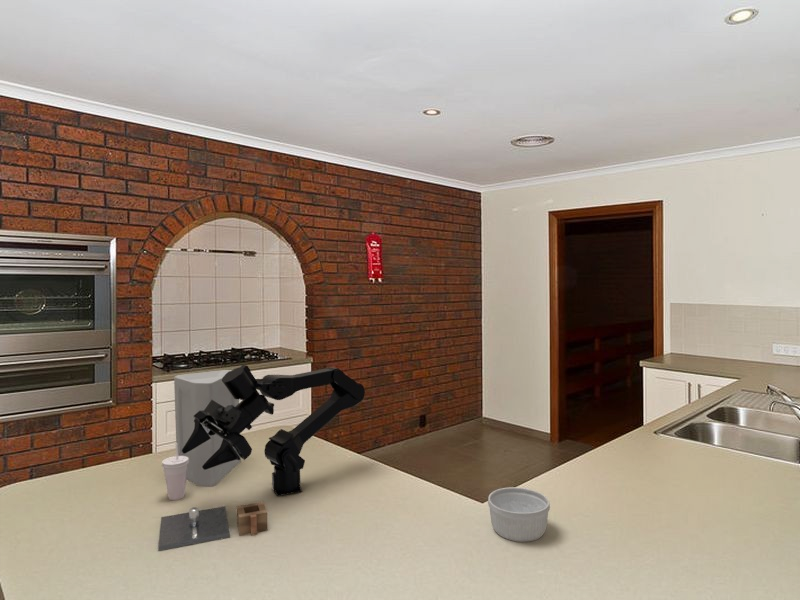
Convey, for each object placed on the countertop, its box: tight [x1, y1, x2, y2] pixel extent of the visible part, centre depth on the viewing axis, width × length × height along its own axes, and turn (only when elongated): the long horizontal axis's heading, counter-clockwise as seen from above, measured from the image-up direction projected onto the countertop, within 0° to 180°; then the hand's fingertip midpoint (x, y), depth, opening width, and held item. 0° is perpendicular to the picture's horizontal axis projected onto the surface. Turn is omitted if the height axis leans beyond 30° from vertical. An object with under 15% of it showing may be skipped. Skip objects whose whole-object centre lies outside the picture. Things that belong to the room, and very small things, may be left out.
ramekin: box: [487, 486, 551, 543], centre depth 114 cm, size 13×13×7 cm
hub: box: [157, 505, 231, 552], centre depth 116 cm, size 14×14×4 cm
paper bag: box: [173, 369, 242, 488], centre depth 149 cm, size 19×15×28 cm
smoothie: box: [161, 443, 189, 501], centre depth 133 cm, size 6×6×14 cm
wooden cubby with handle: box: [235, 501, 268, 536], centre depth 116 cm, size 6×7×4 cm
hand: (192, 460), depth 119 cm, fingers open, 9 cm apart
